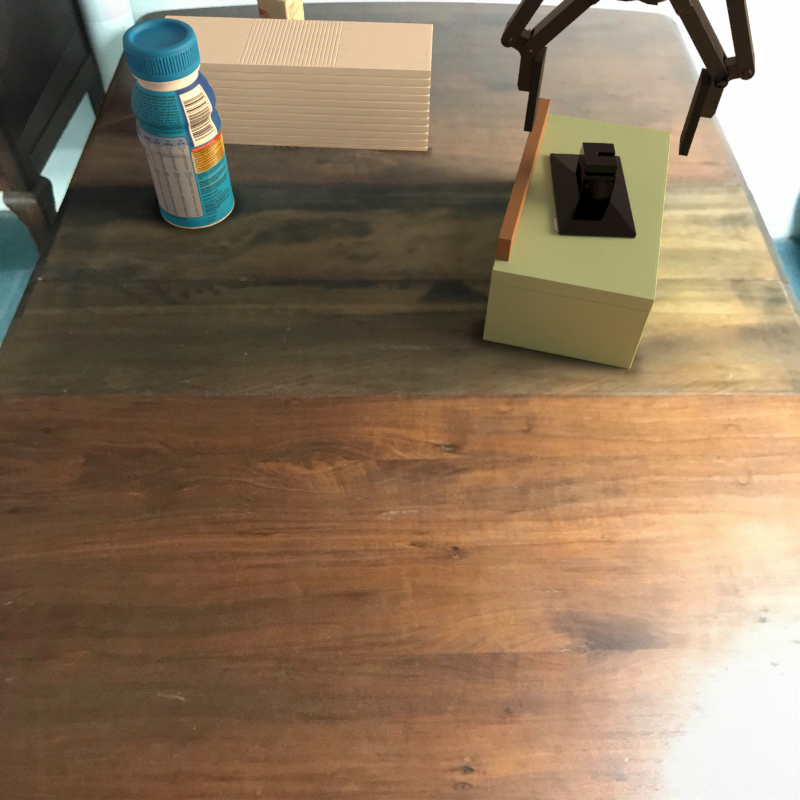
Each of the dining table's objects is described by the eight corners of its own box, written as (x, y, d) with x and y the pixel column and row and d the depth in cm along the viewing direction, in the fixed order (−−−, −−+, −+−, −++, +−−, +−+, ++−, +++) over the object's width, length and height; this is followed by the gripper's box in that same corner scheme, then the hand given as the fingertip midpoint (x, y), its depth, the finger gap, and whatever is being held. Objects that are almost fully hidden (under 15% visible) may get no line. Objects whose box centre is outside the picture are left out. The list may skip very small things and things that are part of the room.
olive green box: (647, 206, 90) (677, 110, 81) (628, 373, 74) (662, 278, 65) (526, 185, 92) (541, 90, 83) (482, 343, 76) (495, 248, 67)
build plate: (635, 240, 72) (648, 198, 68) (555, 236, 72) (563, 194, 68) (619, 158, 79) (630, 116, 76) (546, 155, 80) (553, 114, 76)
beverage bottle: (160, 238, 86) (110, 60, 70) (159, 191, 91) (111, 16, 75) (239, 228, 87) (206, 52, 71) (233, 182, 92) (201, 8, 76)
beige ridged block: (429, 106, 102) (432, 23, 94) (427, 155, 96) (430, 70, 87) (184, 98, 103) (165, 15, 95) (164, 145, 96) (143, 60, 88)
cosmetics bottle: (280, 52, 111) (272, -23, 103) (309, 58, 110) (303, -17, 102) (264, 70, 108) (254, -6, 100) (293, 76, 107) (286, 0, 99)
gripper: (480, -143, 54) (459, 136, 70) (869, -104, 50) (751, 182, 66) (501, -176, 58) (476, 93, 75) (858, -142, 54) (750, 134, 71)
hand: (605, 135), depth 70 cm, fingers open, 13 cm apart
